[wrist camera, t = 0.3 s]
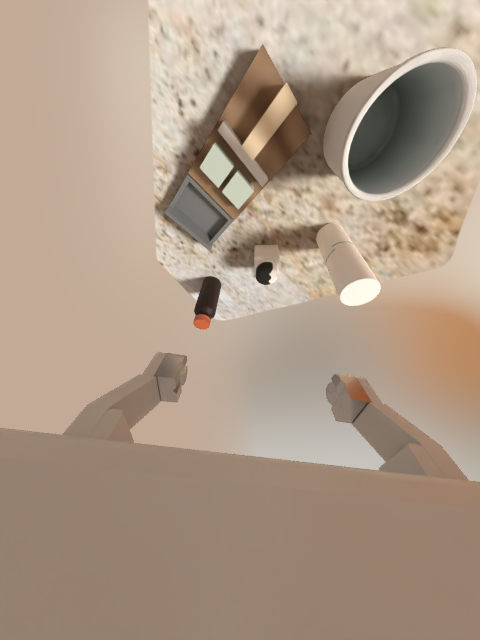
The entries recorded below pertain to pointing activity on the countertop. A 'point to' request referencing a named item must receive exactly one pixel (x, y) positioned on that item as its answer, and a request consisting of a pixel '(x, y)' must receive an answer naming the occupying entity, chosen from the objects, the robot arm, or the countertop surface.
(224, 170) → the tile
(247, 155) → the scraper
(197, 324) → the vinegar
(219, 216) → the box
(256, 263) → the medicine bottle
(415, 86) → the utensil holder
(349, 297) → the cylindrical container
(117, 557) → the robot arm
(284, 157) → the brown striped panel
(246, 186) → the tile
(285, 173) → the countertop surface
